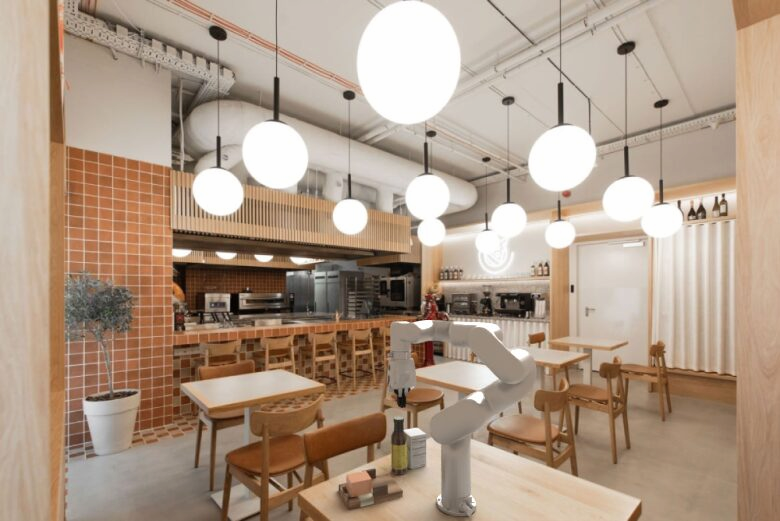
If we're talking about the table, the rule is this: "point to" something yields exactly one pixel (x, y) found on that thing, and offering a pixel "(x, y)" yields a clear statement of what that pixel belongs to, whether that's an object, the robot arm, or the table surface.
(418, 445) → the supplement box
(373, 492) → the tunnel board
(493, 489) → the table surface
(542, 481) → the table surface
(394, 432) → the sauce bottle
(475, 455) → the table surface
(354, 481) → the terracotta block
